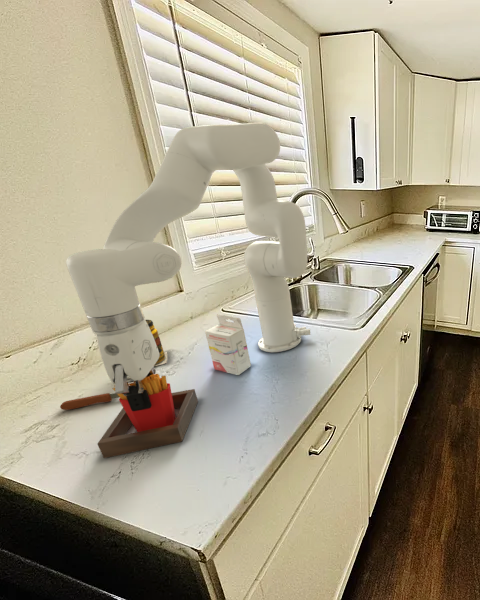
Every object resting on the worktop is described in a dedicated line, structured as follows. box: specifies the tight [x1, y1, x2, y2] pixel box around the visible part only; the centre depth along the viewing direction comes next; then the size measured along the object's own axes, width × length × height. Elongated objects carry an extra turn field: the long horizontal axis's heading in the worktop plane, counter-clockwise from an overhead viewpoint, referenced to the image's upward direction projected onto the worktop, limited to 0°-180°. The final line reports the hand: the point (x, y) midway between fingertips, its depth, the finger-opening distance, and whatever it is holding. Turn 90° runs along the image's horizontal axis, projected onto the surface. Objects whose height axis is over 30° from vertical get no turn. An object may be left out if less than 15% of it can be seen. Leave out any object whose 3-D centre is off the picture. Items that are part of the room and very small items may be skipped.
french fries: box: [112, 373, 177, 432], centre depth 66 cm, size 8×4×12 cm, turn 115°
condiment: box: [145, 319, 168, 368], centre depth 89 cm, size 7×8×12 cm
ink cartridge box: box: [204, 313, 252, 376], centre depth 85 cm, size 9×5×15 cm, turn 71°
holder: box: [97, 388, 199, 459], centre depth 67 cm, size 13×13×4 cm
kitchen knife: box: [59, 392, 120, 411], centre depth 75 cm, size 16×1×2 cm, turn 111°
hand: (146, 400), depth 65 cm, fingers closed on french fries, 4 cm apart
